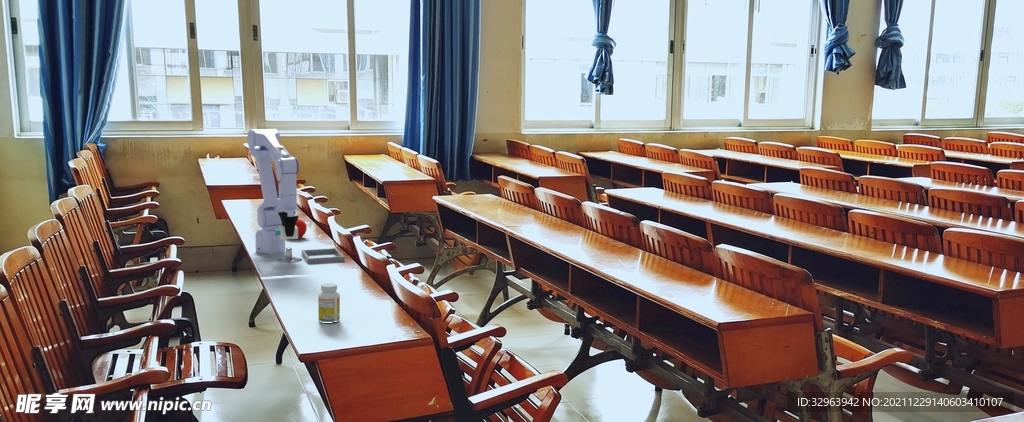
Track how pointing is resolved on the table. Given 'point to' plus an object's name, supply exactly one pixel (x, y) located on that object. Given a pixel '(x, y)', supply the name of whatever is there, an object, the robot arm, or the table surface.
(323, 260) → the tray
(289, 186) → the robot arm
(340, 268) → the table surface
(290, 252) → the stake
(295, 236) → the collar
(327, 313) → the supplement bottle
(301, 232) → the apple
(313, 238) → the table surface
